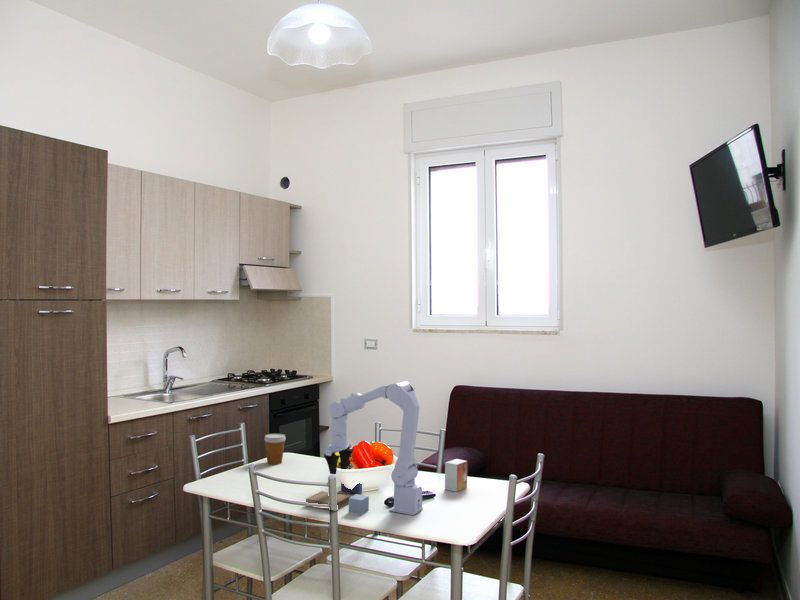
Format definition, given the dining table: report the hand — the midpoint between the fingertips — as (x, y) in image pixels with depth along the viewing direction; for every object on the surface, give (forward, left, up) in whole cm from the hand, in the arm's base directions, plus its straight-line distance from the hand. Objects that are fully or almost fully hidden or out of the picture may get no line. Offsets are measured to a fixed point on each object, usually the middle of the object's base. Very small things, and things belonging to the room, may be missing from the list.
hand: (338, 471), depth 224 cm
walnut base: (0, +7, -10) cm, 12 cm away
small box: (-33, -33, -10) cm, 48 cm away
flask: (0, -9, -10) cm, 14 cm away
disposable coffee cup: (+51, -29, -10) cm, 59 cm away
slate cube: (-13, +8, -10) cm, 19 cm away
